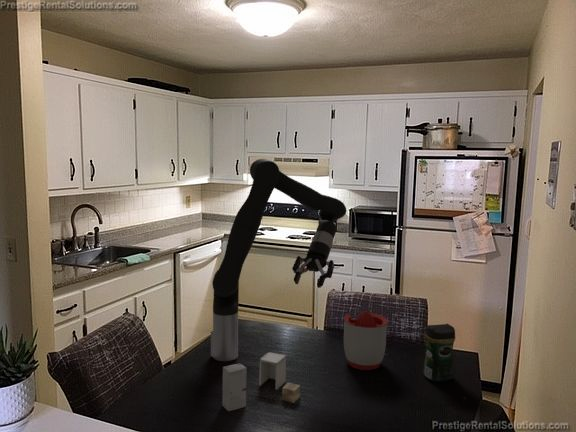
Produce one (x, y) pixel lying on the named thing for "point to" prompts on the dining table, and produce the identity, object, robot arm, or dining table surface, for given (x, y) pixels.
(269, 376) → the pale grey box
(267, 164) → the robot arm
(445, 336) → the coffee jar
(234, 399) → the skincare box
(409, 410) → the dining table surface
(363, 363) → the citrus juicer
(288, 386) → the cube
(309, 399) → the dining table surface
